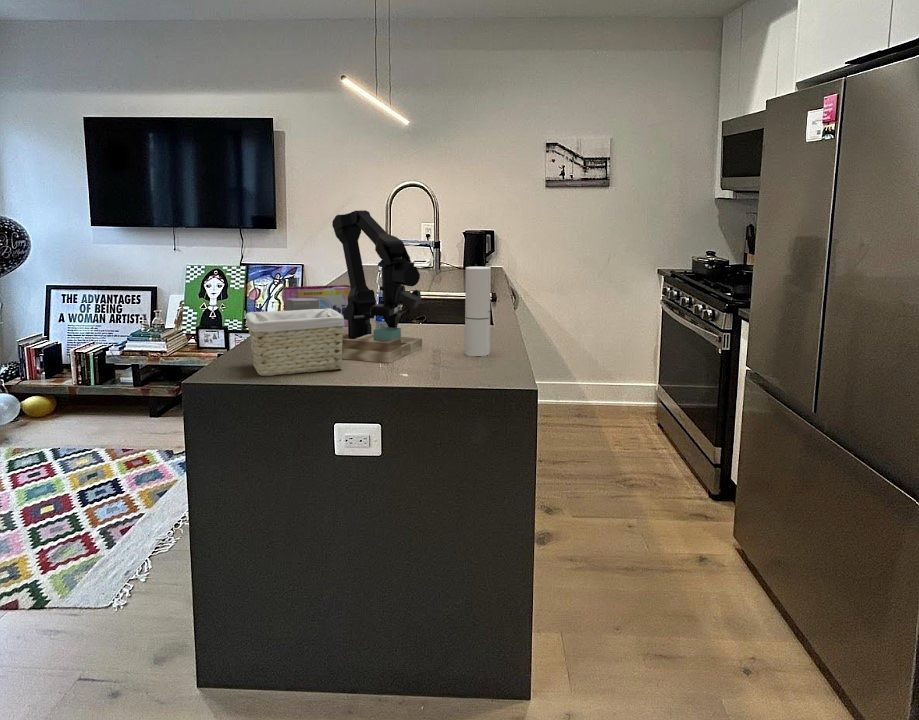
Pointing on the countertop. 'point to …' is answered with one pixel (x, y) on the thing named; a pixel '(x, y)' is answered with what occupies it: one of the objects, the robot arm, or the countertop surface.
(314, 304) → the skincare box
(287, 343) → the storage basket
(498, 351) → the countertop surface
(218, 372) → the countertop surface
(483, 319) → the cylindrical container
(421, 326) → the countertop surface
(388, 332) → the block
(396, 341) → the wooden tray
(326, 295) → the gum box
